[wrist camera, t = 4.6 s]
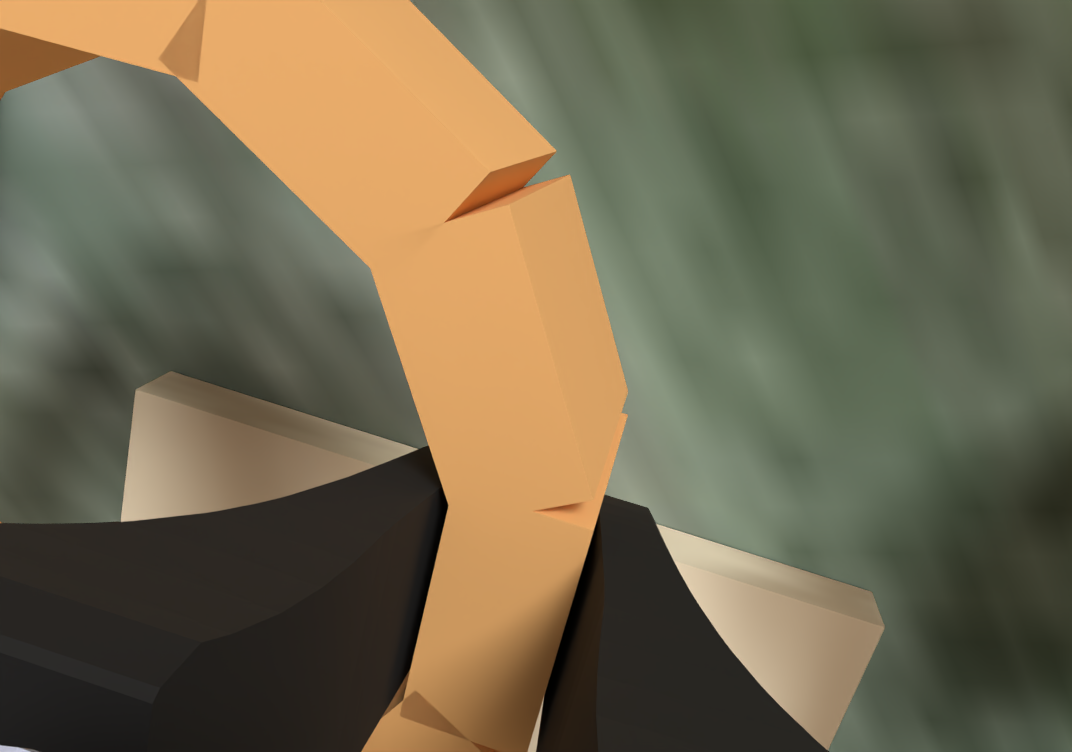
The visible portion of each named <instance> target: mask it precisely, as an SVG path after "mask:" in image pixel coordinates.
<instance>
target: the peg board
mask: <svg viewBox="0 0 1072 752" xmlns="http://www.w3.org/2000/svg"><path fill="white" fill-rule="evenodd" d="M415 450H418V449H417V448H413V447H410V446H407V445H404V444H401V443H398V442H394V441H391V440H388V439H385V438H382V437H379V436H375V435H372V434H369V433H366V432H363V431H359V430H356V429H353V428H350V427H347V426H344V425H340V424H337V423H334V422H331V421H328V420H325V419H321V418H318V417H315V416H312V415H309V414H305V413H302V412H299V411H296V410H293V409H290V408H286V407H283V406H280V405H277V404H274V403H271V402H267V401H264V400H261V399H258V398H255V397H252V396H248V395H245V394H242V393H239V392H236V391H232V390H229V389H226V388H223V387H220V386H217V385H213V384H210V383H207V382H204V381H201V380H198V379H194V378H191V377H188V376H185V375H182V374H178V373H175V372H172V371H170V372H168V373H166V374H164V375H162V376H160V377H159V378H157V379H155V380H153V381H151V382H149V383H147V384H145V385H143V386H141V387H139V388H137V389H136V391H135V399H134V408H133V417H132V426H131V435H130V444H129V453H128V462H127V471H126V479H125V488H124V497H123V506H122V515H121V522H124V521H137V520H146V519H155V518H164V517H173V516H182V515H191V514H200V513H208V512H214V511H220V510H225V509H231V508H236V507H241V506H246V505H251V504H256V503H260V502H265V501H269V500H273V499H277V498H281V497H285V496H289V495H292V494H295V493H298V492H302V491H305V490H308V489H311V488H314V487H317V486H321V485H324V484H327V483H330V482H333V481H336V480H340V479H343V478H346V477H349V476H352V475H354V474H357V473H359V472H362V471H365V470H367V469H370V468H372V467H375V466H378V465H380V464H383V463H385V462H388V461H391V460H393V459H395V458H398V457H400V456H403V455H405V454H408V453H410V452H413V451H415ZM656 525H657V527H658V529H659V531H660V533H661V536H662V538H663V540H664V542H665V544H666V546H667V548H668V550H669V552H670V554H671V556H672V558H673V560H674V562H675V564H676V566H677V568H678V570H679V572H680V574H681V575H682V577H683V579H684V581H685V583H686V584H687V586H688V588H689V590H690V591H691V593H692V595H693V596H694V598H695V599H696V601H697V603H698V604H699V606H700V607H701V609H702V610H703V612H704V613H705V615H706V616H707V617H708V619H709V620H710V622H711V623H712V625H713V626H714V628H715V629H716V631H717V632H718V634H719V635H720V636H721V638H722V639H723V640H724V642H725V643H726V644H727V645H728V647H729V648H730V649H731V651H732V652H733V653H734V654H735V656H736V657H737V658H738V659H739V660H740V661H741V663H742V664H743V665H744V666H745V667H746V668H747V670H748V671H749V672H750V673H751V674H752V676H753V677H754V678H755V679H756V680H757V681H758V683H759V684H760V685H761V686H762V687H763V688H764V689H765V690H766V691H767V693H768V694H769V695H770V696H771V697H772V698H773V699H774V700H775V701H776V702H777V703H778V704H779V705H780V706H781V707H782V708H783V709H784V710H785V711H786V712H787V713H788V714H789V715H790V716H791V717H792V718H793V719H794V720H795V721H797V722H798V723H799V724H800V725H801V726H802V727H803V728H804V729H805V730H806V731H807V732H808V733H809V734H810V735H811V736H812V737H813V738H814V739H815V740H816V741H817V742H819V743H820V744H821V745H822V746H823V747H824V748H825V749H827V750H828V749H829V747H830V745H831V742H832V740H833V738H834V736H835V734H836V732H837V729H838V727H839V725H840V723H841V721H842V719H843V717H844V714H845V712H846V710H847V708H848V706H849V704H850V702H851V699H852V697H853V695H854V693H855V691H856V689H857V686H858V684H859V682H860V680H861V678H862V676H863V674H864V671H865V669H866V667H867V665H868V663H869V661H870V659H871V656H872V654H873V652H874V650H875V648H876V646H877V643H878V641H879V639H880V637H881V635H882V633H883V631H884V628H885V626H884V624H883V621H882V618H881V615H880V613H879V610H878V607H877V604H876V602H875V599H874V596H873V593H872V592H871V591H867V590H864V589H861V588H858V587H855V586H852V585H848V584H845V583H842V582H839V581H836V580H832V579H829V578H826V577H823V576H820V575H817V574H813V573H810V572H807V571H804V570H801V569H798V568H794V567H791V566H788V565H785V564H782V563H779V562H775V561H772V560H769V559H766V558H763V557H759V556H756V555H753V554H750V553H747V552H744V551H740V550H737V549H734V548H731V547H728V546H725V545H721V544H718V543H715V542H712V541H709V540H705V539H702V538H699V537H696V536H693V535H690V534H686V533H683V532H680V531H677V530H674V529H671V528H667V527H664V526H661V525H658V524H656ZM543 700H544V698H543ZM542 707H543V701H542V705H541V708H540V711H539V715H538V718H537V722H536V725H535V728H534V732H533V735H532V738H531V742H530V745H529V748H528V752H536V748H537V741H538V735H539V728H540V721H541V714H542Z"/></svg>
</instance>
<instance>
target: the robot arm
mask: <svg viewBox="0 0 1072 752" xmlns="http://www.w3.org/2000/svg"><path fill="white" fill-rule="evenodd" d="M448 506H449V505H448V502H447V499H446V496H445V493H444V490H443V487H442V484H441V481H440V478H439V475H438V472H437V469H436V466H435V463H434V460H433V457H432V454H431V451H430V447H429V446H426V447H423V448H421V449H418V450H415V451H413V452H410V453H408V454H405V455H403V456H400V457H398V458H395V459H393V460H391V461H388V462H385V463H383V464H380V465H378V466H375V467H372V468H370V469H367V470H365V471H362V472H359V473H357V474H354V475H352V476H349V477H346V478H343V479H340V480H336V481H333V482H330V483H327V484H324V485H321V486H317V487H314V488H311V489H308V490H305V491H302V492H298V493H295V494H292V495H289V496H285V497H281V498H277V499H273V500H269V501H265V502H260V503H256V504H251V505H246V506H241V507H236V508H231V509H225V510H220V511H214V512H208V513H200V514H191V515H182V516H173V517H164V518H155V519H146V520H137V521H124V522H104V523H74V524H19V523H0V752H361V751H362V750H363V748H364V746H365V744H366V743H367V741H368V739H369V738H370V736H371V734H372V733H373V731H374V729H375V728H376V726H377V724H378V723H379V721H380V719H381V718H382V716H383V714H384V713H385V711H386V709H387V708H388V706H389V704H390V703H391V701H392V699H393V698H394V696H395V694H396V693H397V691H398V689H399V688H400V686H401V684H402V682H403V681H404V679H405V677H406V676H407V674H408V672H409V671H410V669H411V664H412V660H413V656H414V652H415V647H416V643H417V639H418V634H419V630H420V626H421V622H422V617H423V613H424V609H425V604H426V600H427V596H428V592H429V587H430V583H431V579H432V574H433V570H434V566H435V562H436V557H437V553H438V549H439V544H440V540H441V536H442V532H443V527H444V523H445V519H446V514H447V510H448ZM536 752H829V751H828V750H827V749H825V748H824V747H823V746H822V745H821V744H820V743H819V742H817V741H816V740H815V739H814V738H813V737H812V736H811V735H810V734H809V733H808V732H807V731H806V730H805V729H804V728H803V727H802V726H801V725H800V724H799V723H798V722H797V721H795V720H794V719H793V718H792V717H791V716H790V715H789V714H788V713H787V712H786V711H785V710H784V709H783V708H782V707H781V706H780V705H779V704H778V703H777V702H776V701H775V700H774V699H773V698H772V697H771V696H770V695H769V694H768V693H767V691H766V690H765V689H764V688H763V687H762V686H761V685H760V684H759V683H758V681H757V680H756V679H755V678H754V677H753V676H752V674H751V673H750V672H749V671H748V670H747V668H746V667H745V666H744V665H743V664H742V663H741V661H740V660H739V659H738V658H737V657H736V656H735V654H734V653H733V652H732V651H731V649H730V648H729V647H728V645H727V644H726V643H725V642H724V640H723V639H722V638H721V636H720V635H719V634H718V632H717V631H716V629H715V628H714V626H713V625H712V623H711V622H710V620H709V619H708V617H707V616H706V615H705V613H704V612H703V610H702V609H701V607H700V606H699V604H698V603H697V601H696V599H695V598H694V596H693V595H692V593H691V591H690V590H689V588H688V586H687V584H686V583H685V581H684V579H683V577H682V575H681V574H680V572H679V570H678V568H677V566H676V564H675V562H674V560H673V558H672V556H671V554H670V552H669V550H668V548H667V546H666V544H665V542H664V540H663V538H662V536H661V533H660V531H659V529H658V527H657V525H656V523H655V520H654V518H653V516H652V515H651V513H650V511H649V509H648V508H647V507H643V506H640V505H637V504H633V503H630V502H627V501H623V500H620V499H617V498H613V497H610V496H607V495H604V497H603V501H602V504H601V508H600V511H599V514H598V518H597V521H596V525H595V528H594V531H593V535H592V538H591V541H590V545H589V548H588V551H587V555H586V558H585V561H584V565H583V568H582V571H581V575H580V578H579V581H578V585H577V588H576V591H575V595H574V598H573V601H572V605H571V608H570V611H569V615H568V618H567V621H566V625H565V628H564V631H563V635H562V638H561V641H560V645H559V648H558V651H557V655H556V658H555V661H554V665H553V668H552V671H551V675H550V678H549V681H548V685H547V688H546V691H545V695H544V700H543V707H542V714H541V721H540V728H539V735H538V741H537V748H536Z"/></svg>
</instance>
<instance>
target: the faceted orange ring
mask: <svg viewBox="0 0 1072 752" xmlns="http://www.w3.org/2000/svg"><path fill="white" fill-rule="evenodd" d="M99 56H104V57H107V58H111V59H115V60H118V61H122V62H126V63H129V64H133V65H137V66H140V67H144V68H148V69H151V70H155V71H159V72H162V73H166V74H170V75H173V76H176V77H177V78H178V79H179V80H180V81H181V82H182V83H183V84H184V85H185V86H186V87H187V88H188V89H189V90H190V91H191V92H192V93H194V94H195V95H196V96H197V97H198V98H199V99H200V100H201V101H202V102H203V103H204V104H205V105H206V106H207V107H208V108H209V109H210V110H211V111H212V112H213V113H214V114H215V115H216V116H217V117H218V118H219V119H220V120H221V121H222V122H223V123H224V124H225V125H226V126H227V127H228V128H229V129H230V130H231V131H232V132H233V133H234V134H235V135H236V136H237V137H238V138H239V139H240V140H241V141H242V142H243V143H244V144H245V145H246V146H247V147H248V148H249V149H250V150H251V151H252V152H253V153H254V154H255V155H256V156H257V157H258V158H259V159H260V160H261V161H262V162H263V163H264V164H265V165H266V166H267V167H268V168H269V169H270V170H271V171H272V172H274V173H275V174H276V175H277V176H278V177H279V178H280V179H281V180H282V181H283V182H284V183H285V184H286V185H287V186H288V187H289V188H290V189H291V190H292V191H293V192H294V193H295V194H296V195H297V196H298V197H299V198H300V199H301V200H302V201H303V202H304V203H305V204H306V205H307V206H308V207H309V208H310V209H311V210H312V211H313V212H314V213H315V214H316V215H317V216H318V217H319V218H320V219H321V220H322V221H323V222H324V223H325V224H326V225H327V226H328V227H329V228H330V229H331V230H332V231H333V232H334V233H335V234H336V235H337V236H338V237H339V238H340V239H341V240H342V241H343V242H344V243H345V244H346V245H347V246H348V247H349V248H350V249H351V250H352V251H354V252H355V253H356V254H357V255H358V256H359V257H360V258H361V259H362V260H363V261H364V262H365V263H366V264H367V265H368V266H369V267H370V268H371V271H372V274H373V277H374V281H375V284H376V287H377V290H378V293H379V296H380V299H381V302H382V305H383V308H384V311H385V314H386V317H387V320H388V323H389V326H390V329H391V332H392V335H393V338H394V341H395V344H396V347H397V350H398V353H399V356H400V359H401V362H402V366H403V369H404V372H405V375H406V378H407V381H408V384H409V387H410V390H411V393H412V396H413V399H414V402H415V405H416V408H417V411H418V414H419V417H420V420H421V423H422V426H423V429H424V432H425V435H426V438H427V441H428V444H429V447H430V451H431V454H432V457H433V460H434V463H435V466H436V469H437V472H438V475H439V478H440V481H441V484H442V487H443V490H444V493H445V496H446V499H447V502H448V505H449V506H448V510H447V514H446V519H445V523H444V527H443V532H442V536H441V540H440V544H439V549H438V553H437V557H436V562H435V566H434V570H433V574H432V579H431V583H430V587H429V592H428V596H427V600H426V604H425V609H424V613H423V617H422V622H421V626H420V630H419V634H418V639H417V643H416V647H415V652H414V656H413V660H412V664H411V669H410V671H409V672H408V674H407V676H406V677H405V679H404V681H403V682H402V684H401V686H400V688H399V689H398V691H397V693H396V694H395V696H394V698H393V699H392V701H391V703H390V704H389V706H388V708H387V709H386V711H385V713H384V714H383V716H382V718H381V719H380V721H379V723H378V724H377V726H376V728H375V729H374V731H373V733H372V734H371V736H370V738H369V739H368V741H367V743H366V744H365V746H364V748H363V750H362V751H361V752H528V748H529V745H530V742H531V738H532V735H533V732H534V728H535V725H536V722H537V718H538V715H539V711H540V708H541V705H542V701H543V698H544V695H545V691H546V688H547V685H548V681H549V678H550V675H551V671H552V668H553V665H554V661H555V658H556V655H557V651H558V648H559V645H560V641H561V638H562V635H563V631H564V628H565V625H566V621H567V618H568V615H569V611H570V608H571V605H572V601H573V598H574V595H575V591H576V588H577V585H578V581H579V578H580V575H581V571H582V568H583V565H584V561H585V558H586V555H587V551H588V548H589V545H590V541H591V538H592V535H593V531H594V528H595V525H596V521H597V518H598V514H599V511H600V508H601V504H602V501H603V497H604V494H605V491H606V487H607V484H608V480H609V477H610V474H611V470H612V467H613V463H614V460H615V457H616V453H617V450H618V446H619V443H620V440H621V436H622V433H623V429H624V426H625V423H626V419H627V416H628V415H627V414H624V413H621V412H622V409H623V406H624V403H625V400H626V396H627V393H628V389H627V386H626V382H625V378H624V374H623V371H622V367H621V363H620V359H619V356H618V352H617V348H616V344H615V341H614V337H613V333H612V330H611V326H610V322H609V318H608V315H607V311H606V307H605V303H604V300H603V296H602V292H601V288H600V285H599V281H598V277H597V274H596V270H595V266H594V262H593V259H592V255H591V251H590V247H589V244H588V240H587V236H586V232H585V229H584V225H583V221H582V217H581V214H580V210H579V206H578V203H577V199H576V195H575V191H574V188H573V184H572V180H571V176H570V175H566V176H563V177H559V178H556V179H552V180H549V181H545V182H542V183H538V184H535V185H531V186H528V187H524V186H525V185H526V184H527V183H528V181H529V180H530V179H531V178H532V177H533V176H534V175H535V174H536V173H537V172H538V171H539V170H540V169H541V168H542V166H543V165H544V164H545V163H546V162H547V161H548V160H549V159H550V158H551V157H552V156H553V155H554V154H555V153H556V150H555V149H554V148H553V147H552V146H551V145H550V144H549V143H548V142H547V141H546V140H545V139H544V138H543V137H542V136H541V135H540V134H539V133H538V131H537V130H536V129H535V128H534V127H533V126H532V125H531V124H530V123H529V122H528V121H527V120H526V119H525V118H524V117H523V116H522V115H521V114H520V113H519V112H518V111H517V110H516V109H515V108H514V107H513V106H512V105H511V104H510V103H509V102H508V101H507V100H506V99H505V98H504V97H503V96H502V95H501V94H500V93H499V92H498V91H497V90H496V89H495V88H494V87H493V85H492V84H491V83H490V82H489V81H488V80H487V79H486V78H485V77H484V76H483V75H482V74H481V73H480V72H479V71H478V70H477V69H476V68H475V67H474V66H473V65H472V64H471V63H470V62H469V61H468V60H467V59H466V58H465V57H464V56H463V55H462V54H461V53H460V52H459V51H458V50H457V49H456V48H455V47H454V46H453V45H452V44H451V43H450V42H449V41H448V40H447V38H446V37H445V36H444V35H443V34H442V33H441V32H440V31H439V30H438V29H437V28H436V27H435V26H434V25H433V24H432V23H431V22H430V21H429V20H428V19H427V18H426V17H425V16H424V15H423V14H422V13H421V12H420V11H419V10H418V9H417V8H416V7H415V6H414V5H413V4H412V3H411V2H410V1H409V0H0V100H1V98H2V97H3V95H4V93H5V92H6V91H9V90H11V89H14V88H17V87H19V86H22V85H25V84H27V83H30V82H33V81H35V80H38V79H41V78H43V77H46V76H49V75H51V74H54V73H57V72H59V71H62V70H65V69H67V68H70V67H73V66H75V65H78V64H81V63H83V62H86V61H89V60H91V59H94V58H97V57H99ZM523 187H524V188H523ZM0 523H1V522H0Z"/></svg>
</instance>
